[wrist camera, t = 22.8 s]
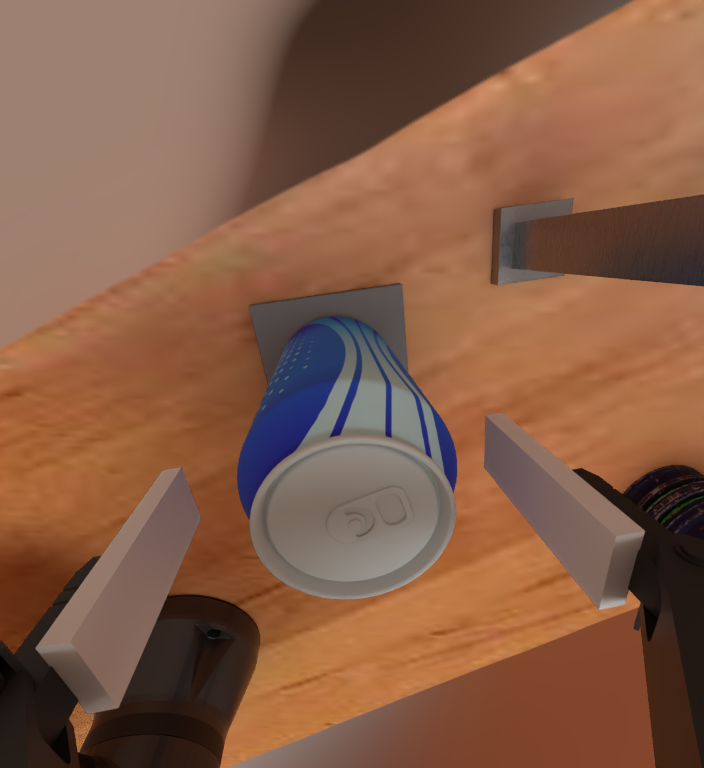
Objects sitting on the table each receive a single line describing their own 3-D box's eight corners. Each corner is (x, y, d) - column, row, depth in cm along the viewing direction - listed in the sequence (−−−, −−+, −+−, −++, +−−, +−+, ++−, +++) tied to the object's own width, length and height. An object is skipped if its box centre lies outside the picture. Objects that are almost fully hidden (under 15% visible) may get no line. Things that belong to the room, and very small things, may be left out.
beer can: (370, 427, 27) (426, 630, 12) (270, 402, 26) (198, 601, 11) (405, 331, 25) (531, 446, 10) (296, 298, 23) (247, 374, 8)
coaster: (282, 434, 28) (281, 438, 27) (250, 304, 24) (248, 306, 23) (408, 414, 28) (410, 418, 27) (399, 283, 24) (402, 284, 23)
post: (491, 283, 25) (790, 341, 9) (494, 209, 23) (881, 116, 7) (555, 274, 25) (959, 314, 9) (563, 200, 23) (1094, 88, 7)
